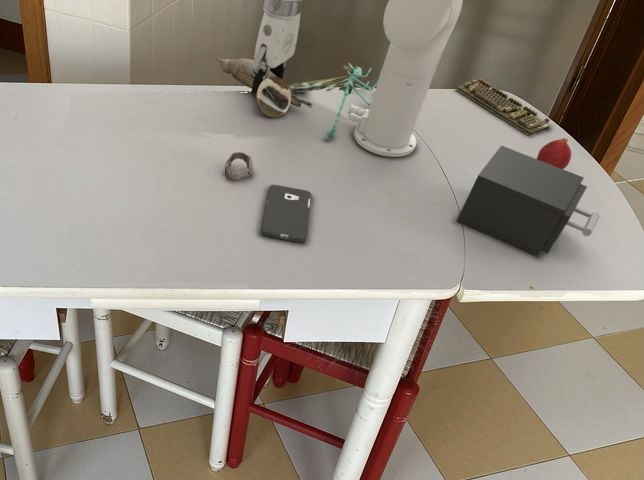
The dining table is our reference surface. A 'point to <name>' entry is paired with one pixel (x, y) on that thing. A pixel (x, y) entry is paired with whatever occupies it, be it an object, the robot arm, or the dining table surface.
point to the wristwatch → (243, 173)
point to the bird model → (250, 75)
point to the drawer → (565, 221)
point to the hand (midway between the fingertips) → (266, 88)
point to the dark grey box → (519, 200)
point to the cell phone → (286, 213)
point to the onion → (556, 153)
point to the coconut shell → (273, 96)
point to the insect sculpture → (331, 82)
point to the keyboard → (503, 106)
